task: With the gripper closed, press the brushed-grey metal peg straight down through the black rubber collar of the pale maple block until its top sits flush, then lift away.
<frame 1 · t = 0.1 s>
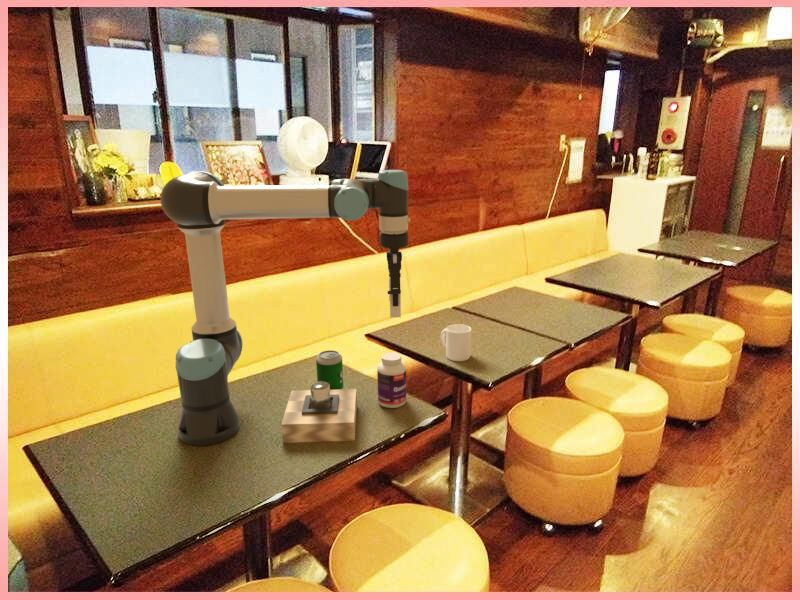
hand: (394, 308, 152), 28 cm above the table, fingers open, 13 cm apart
mug: (453, 355, 191), on the table
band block: (322, 423, 149), on the table
peg: (320, 395, 147), point 8 cm above the table, slide at 5.0 cm
pill bottle: (392, 403, 160), on the table
soda can: (330, 392, 166), on the table
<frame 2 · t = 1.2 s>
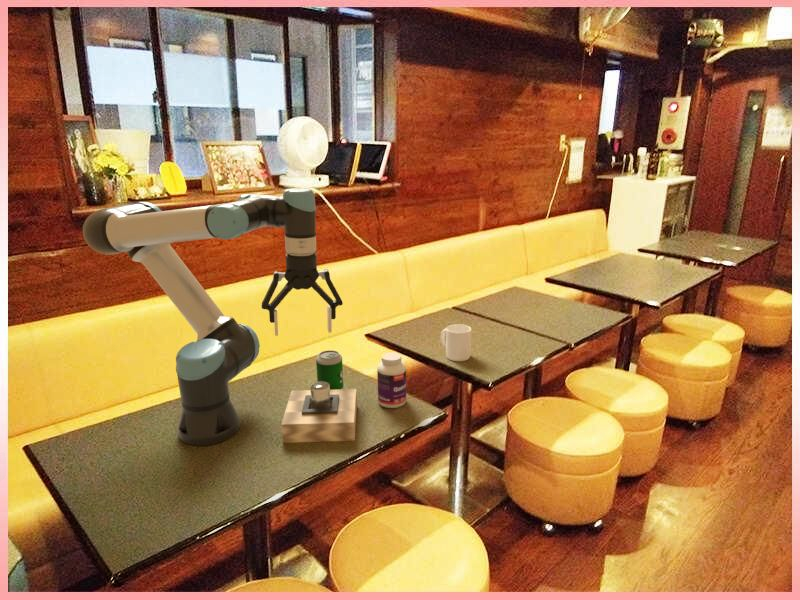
hand: (303, 332, 145), 25 cm above the table, fingers open, 13 cm apart
nothing on the table moved.
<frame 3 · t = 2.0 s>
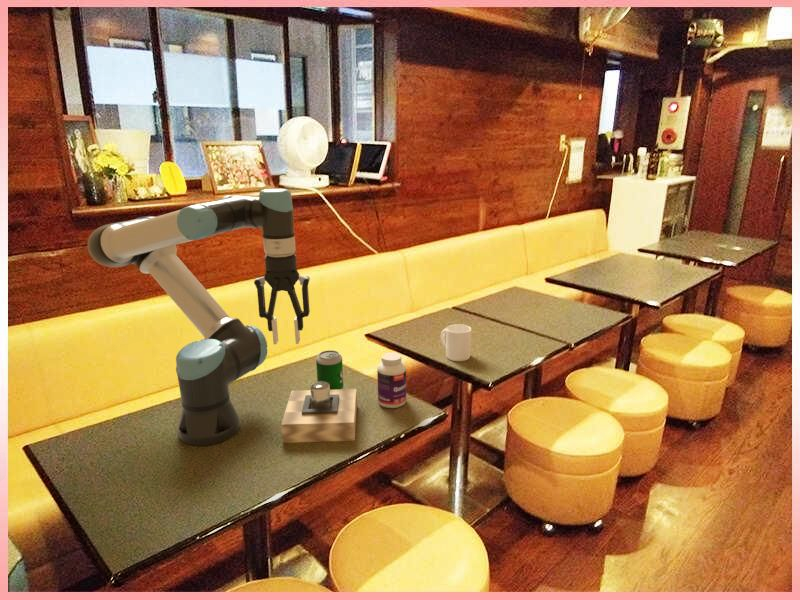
hand: (286, 341, 144), 23 cm above the table, fingers open, 5 cm apart
nothing on the table moved.
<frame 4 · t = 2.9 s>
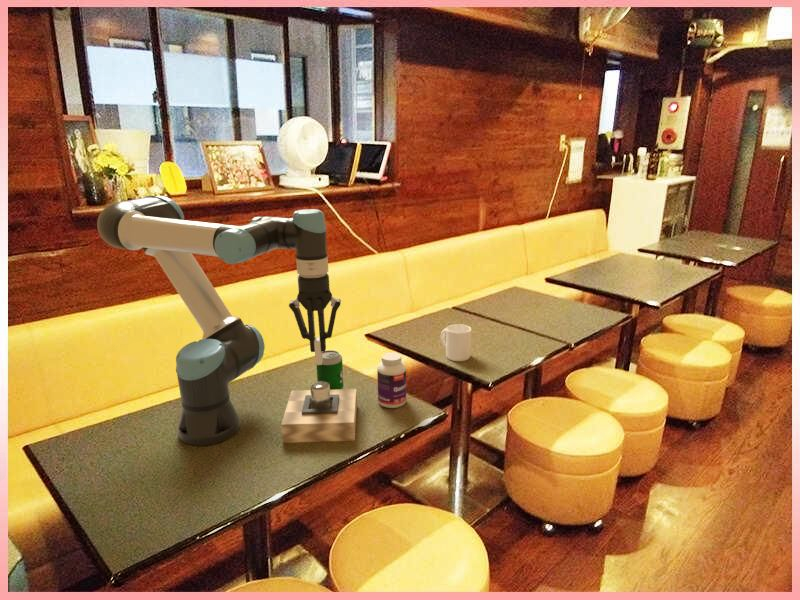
hand: (319, 362, 144), 18 cm above the table, fingers closed
nothing on the table moved.
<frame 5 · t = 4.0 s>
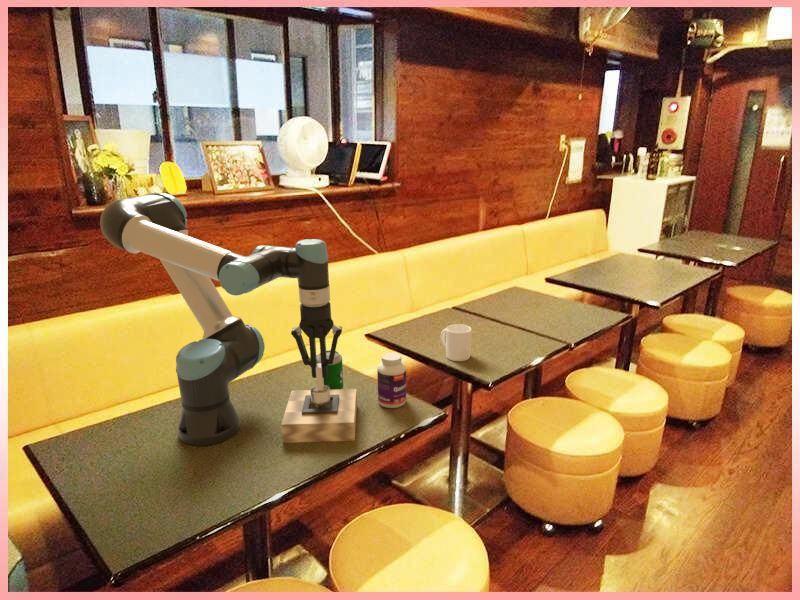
hand: (320, 388, 146), 10 cm above the table, fingers closed
peg: (320, 398, 147), point 7 cm above the table, slide at 4.1 cm, touching gripper
everything else where it was.
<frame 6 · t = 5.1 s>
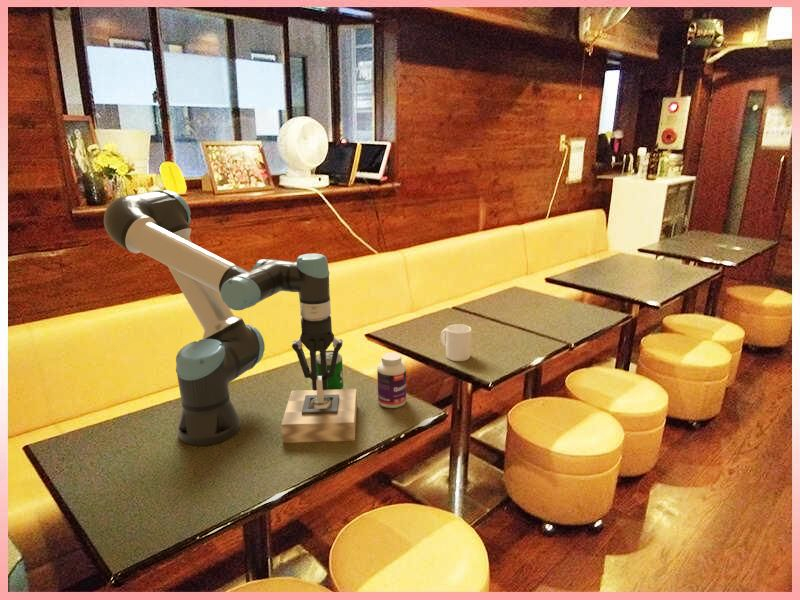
hand: (320, 400, 147), 7 cm above the table, fingers closed
peg: (321, 410, 148), point 4 cm above the table, slide at 0.5 cm, touching gripper
everything else where it was.
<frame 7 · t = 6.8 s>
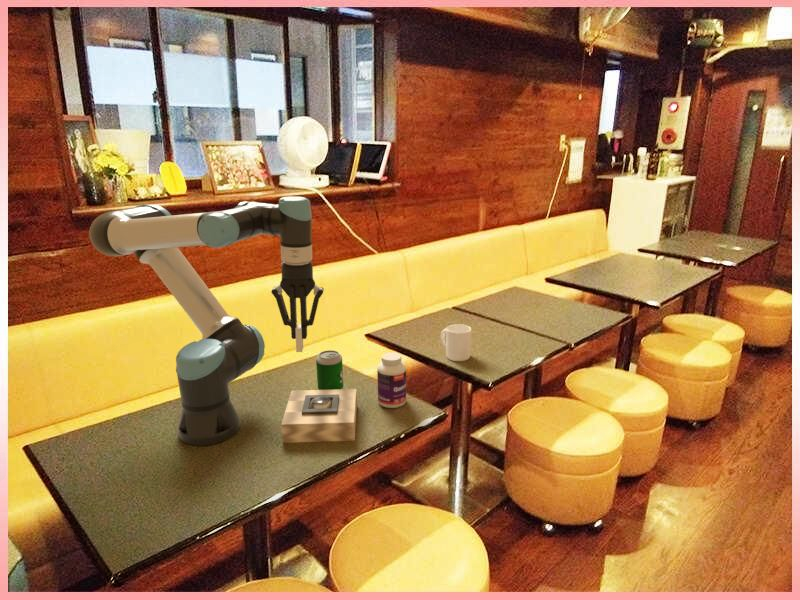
hand: (299, 349, 144), 21 cm above the table, fingers closed
peg: (321, 410, 148), point 4 cm above the table, slide at 0.5 cm
everything else where it was.
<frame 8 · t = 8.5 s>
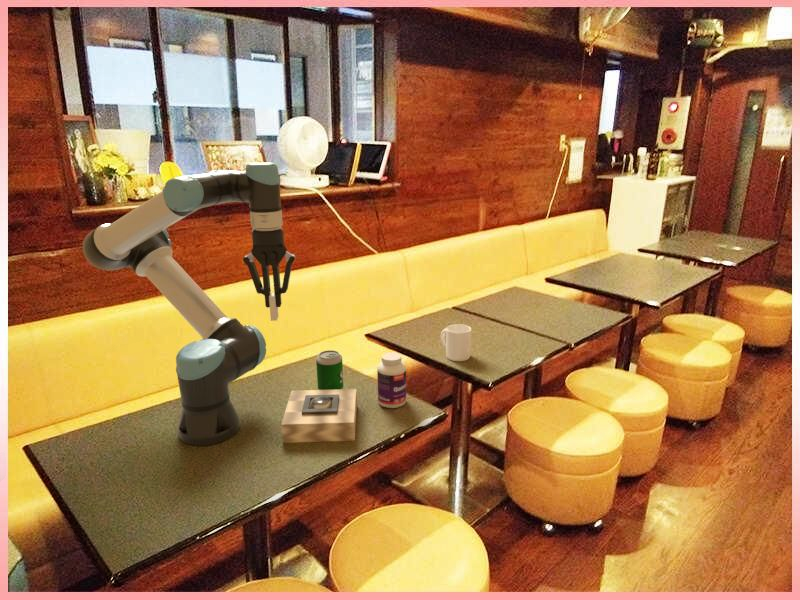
hand: (274, 318, 144), 28 cm above the table, fingers closed
nothing on the table moved.
at the end: peg slide at 0.5 cm; the gripper is holding nothing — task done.
